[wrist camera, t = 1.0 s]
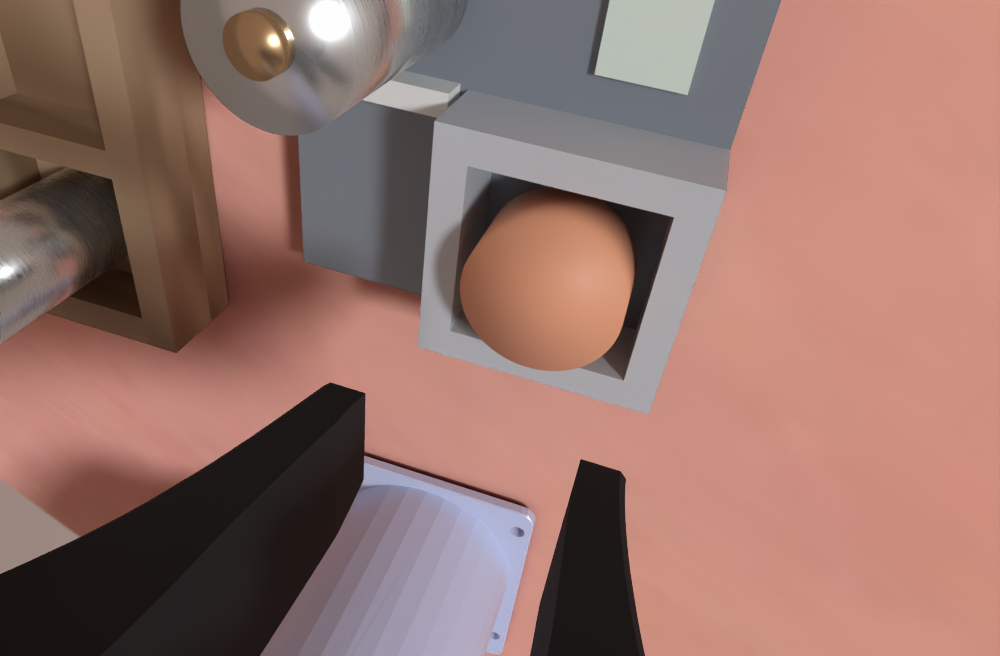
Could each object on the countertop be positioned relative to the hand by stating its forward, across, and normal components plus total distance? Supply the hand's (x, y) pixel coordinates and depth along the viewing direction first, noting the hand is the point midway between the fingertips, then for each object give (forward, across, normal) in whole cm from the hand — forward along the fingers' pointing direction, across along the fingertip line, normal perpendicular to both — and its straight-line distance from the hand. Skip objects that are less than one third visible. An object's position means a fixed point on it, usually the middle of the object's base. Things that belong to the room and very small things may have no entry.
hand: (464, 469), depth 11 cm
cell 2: (+8, +5, -5) cm, 11 cm away
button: (+7, 0, 0) cm, 7 cm away
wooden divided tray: (+9, +14, 0) cm, 17 cm away
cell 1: (+8, +14, +3) cm, 17 cm away
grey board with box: (+9, +2, -2) cm, 10 cm away
